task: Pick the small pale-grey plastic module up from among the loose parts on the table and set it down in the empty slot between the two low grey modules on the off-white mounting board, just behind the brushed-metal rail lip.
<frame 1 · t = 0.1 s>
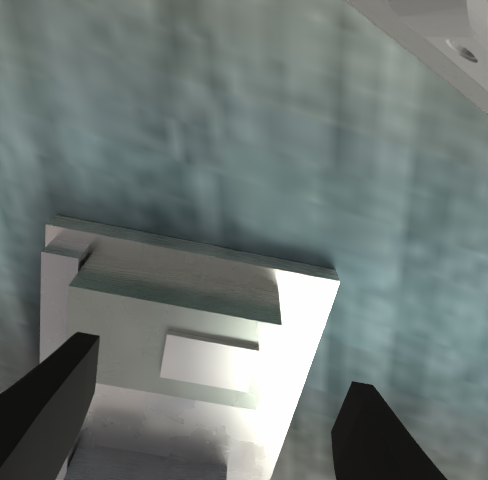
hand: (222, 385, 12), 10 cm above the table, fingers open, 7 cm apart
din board: (171, 392, 26), on the table
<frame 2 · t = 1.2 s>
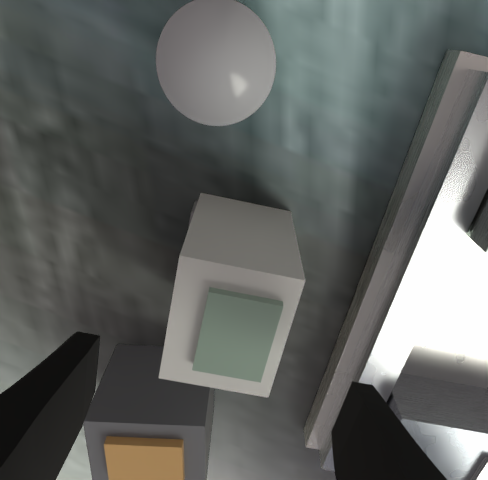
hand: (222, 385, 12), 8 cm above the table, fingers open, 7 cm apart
relay block: (167, 375, 23), on the table
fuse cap: (225, 57, 17), on the table
module: (234, 252, 20), on the table
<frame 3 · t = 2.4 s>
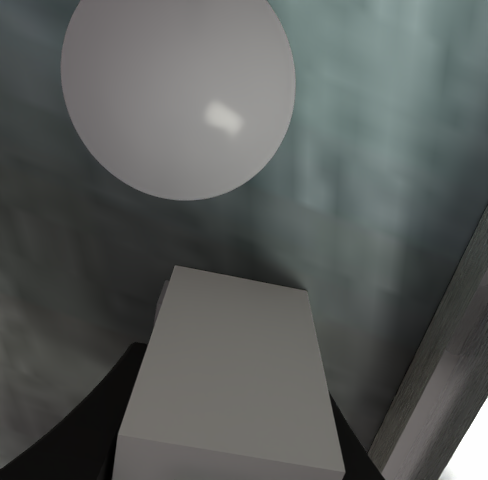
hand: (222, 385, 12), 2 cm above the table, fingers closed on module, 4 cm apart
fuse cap: (208, 68, 11), on the table
module: (225, 344, 14), on the table, touching gripper
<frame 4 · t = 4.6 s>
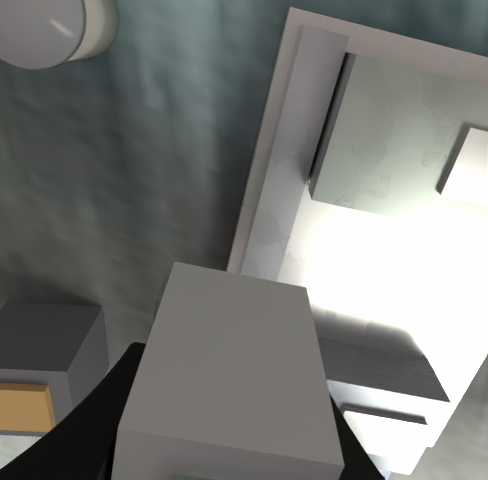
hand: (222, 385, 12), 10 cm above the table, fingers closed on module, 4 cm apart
relay block: (60, 334, 24), on the table
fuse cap: (77, 14, 17), on the table
module: (225, 340, 14), point 8 cm above the table, touching gripper
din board: (371, 265, 22), on the table
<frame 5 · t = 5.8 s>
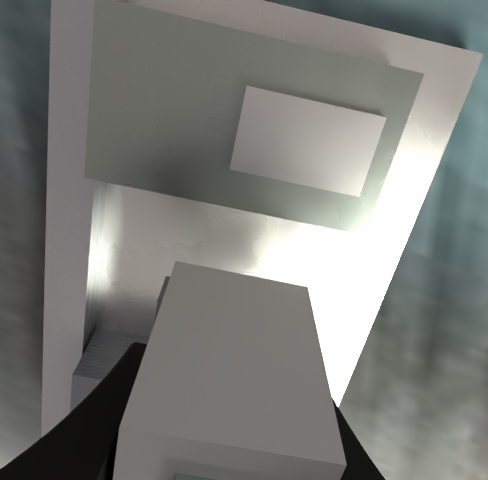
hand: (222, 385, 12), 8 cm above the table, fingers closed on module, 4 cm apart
module: (226, 340, 14), point 6 cm above the table, touching gripper
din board: (221, 257, 19), on the table
when the fingers open (4 cm above the table, at t = 6.9 s): module drops 1 cm, resting on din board.
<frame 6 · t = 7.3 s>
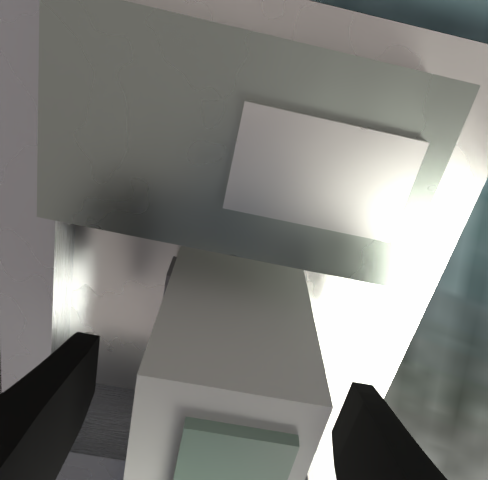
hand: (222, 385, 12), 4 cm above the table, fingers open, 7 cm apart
module: (228, 317, 15), point 1 cm above the table, touching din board
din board: (216, 297, 16), on the table
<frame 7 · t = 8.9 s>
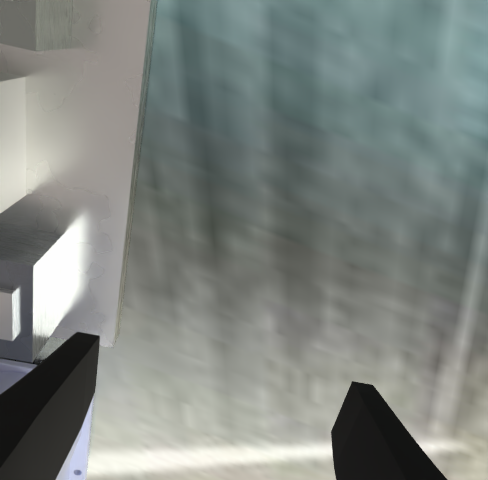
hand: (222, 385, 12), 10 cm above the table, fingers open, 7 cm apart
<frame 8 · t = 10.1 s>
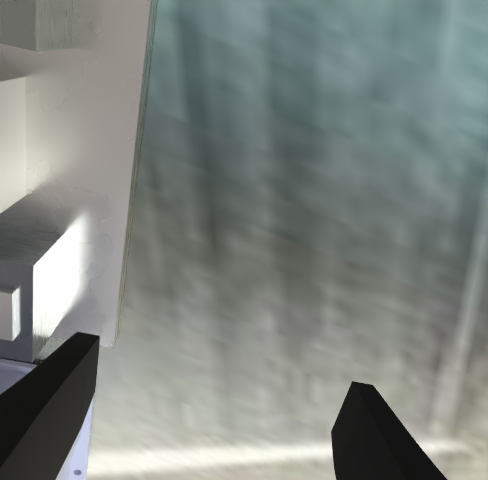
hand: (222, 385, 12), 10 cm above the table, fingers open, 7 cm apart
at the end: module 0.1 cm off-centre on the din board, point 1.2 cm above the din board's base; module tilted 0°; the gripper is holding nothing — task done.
